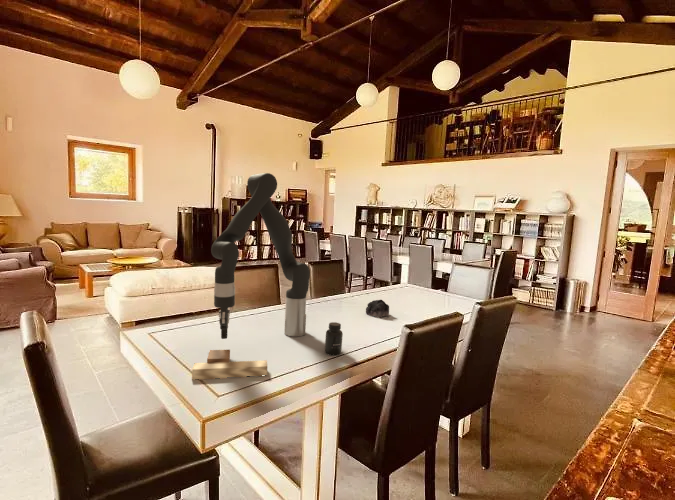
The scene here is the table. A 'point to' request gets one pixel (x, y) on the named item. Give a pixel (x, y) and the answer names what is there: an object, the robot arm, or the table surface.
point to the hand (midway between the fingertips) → (224, 338)
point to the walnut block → (218, 356)
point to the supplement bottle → (333, 339)
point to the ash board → (229, 369)
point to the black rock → (377, 308)
